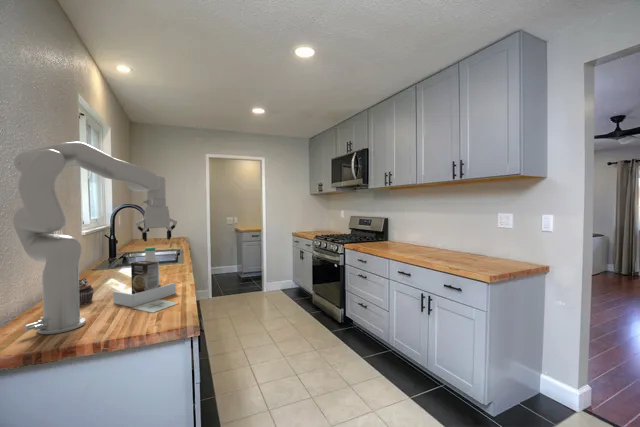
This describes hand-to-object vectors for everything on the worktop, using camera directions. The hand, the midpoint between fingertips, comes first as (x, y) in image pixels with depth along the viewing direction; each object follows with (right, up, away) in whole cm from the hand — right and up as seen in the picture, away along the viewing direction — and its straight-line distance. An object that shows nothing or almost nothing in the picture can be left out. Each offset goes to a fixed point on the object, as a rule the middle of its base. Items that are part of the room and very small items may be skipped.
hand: (157, 240), depth 140 cm
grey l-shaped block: (-3, -26, -4) cm, 26 cm away
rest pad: (+7, -26, -14) cm, 31 cm away
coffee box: (-4, -26, -3) cm, 26 cm away
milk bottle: (-12, -25, +16) cm, 32 cm away
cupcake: (-28, -26, -10) cm, 39 cm away
